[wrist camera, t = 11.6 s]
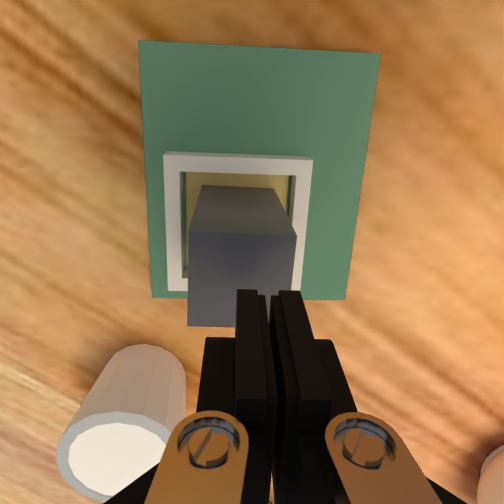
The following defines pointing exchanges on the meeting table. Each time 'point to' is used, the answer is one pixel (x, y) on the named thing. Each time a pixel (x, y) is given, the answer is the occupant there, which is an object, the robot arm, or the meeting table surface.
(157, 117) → the board
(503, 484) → the lidded jar
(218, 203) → the plug
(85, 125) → the meeting table surface
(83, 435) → the white cylinder
